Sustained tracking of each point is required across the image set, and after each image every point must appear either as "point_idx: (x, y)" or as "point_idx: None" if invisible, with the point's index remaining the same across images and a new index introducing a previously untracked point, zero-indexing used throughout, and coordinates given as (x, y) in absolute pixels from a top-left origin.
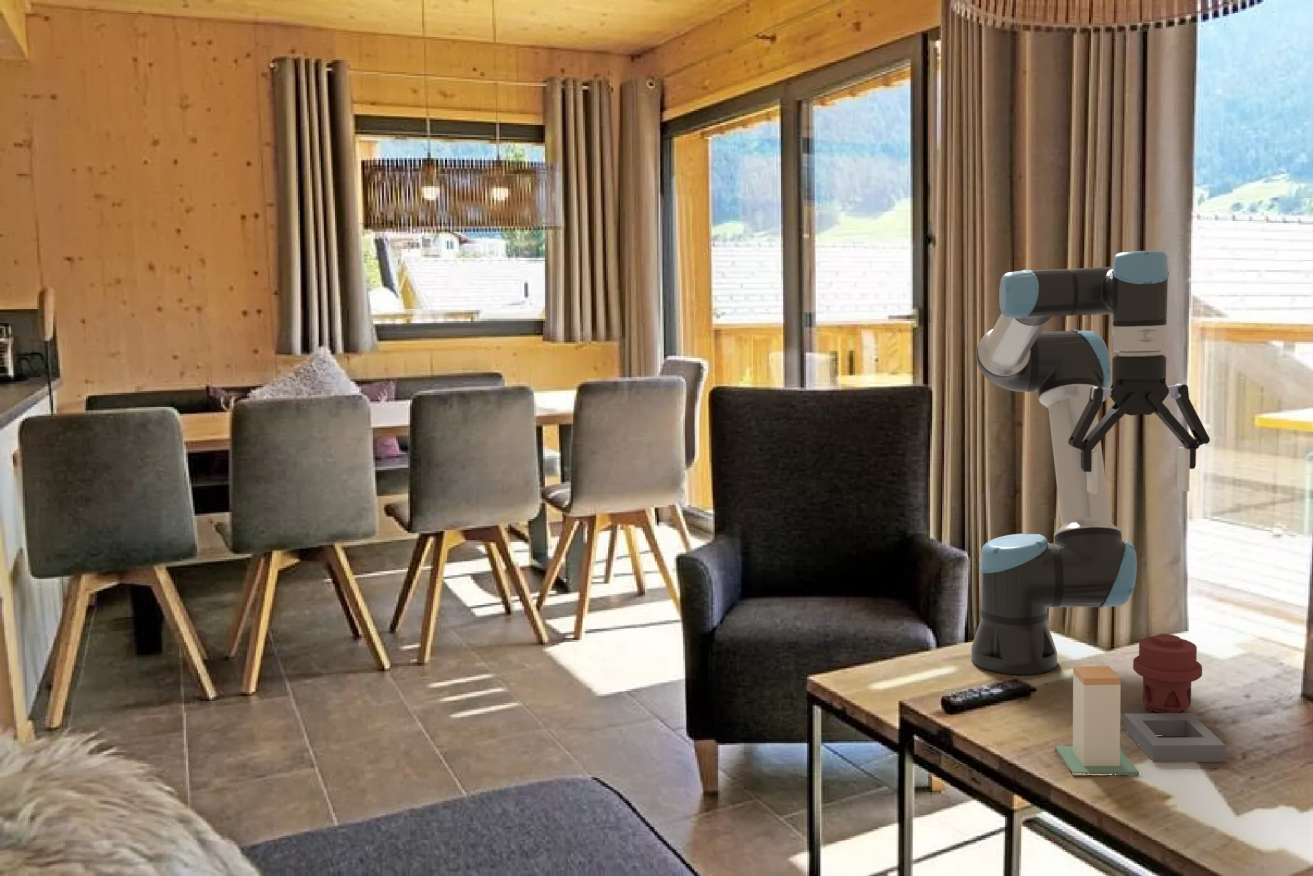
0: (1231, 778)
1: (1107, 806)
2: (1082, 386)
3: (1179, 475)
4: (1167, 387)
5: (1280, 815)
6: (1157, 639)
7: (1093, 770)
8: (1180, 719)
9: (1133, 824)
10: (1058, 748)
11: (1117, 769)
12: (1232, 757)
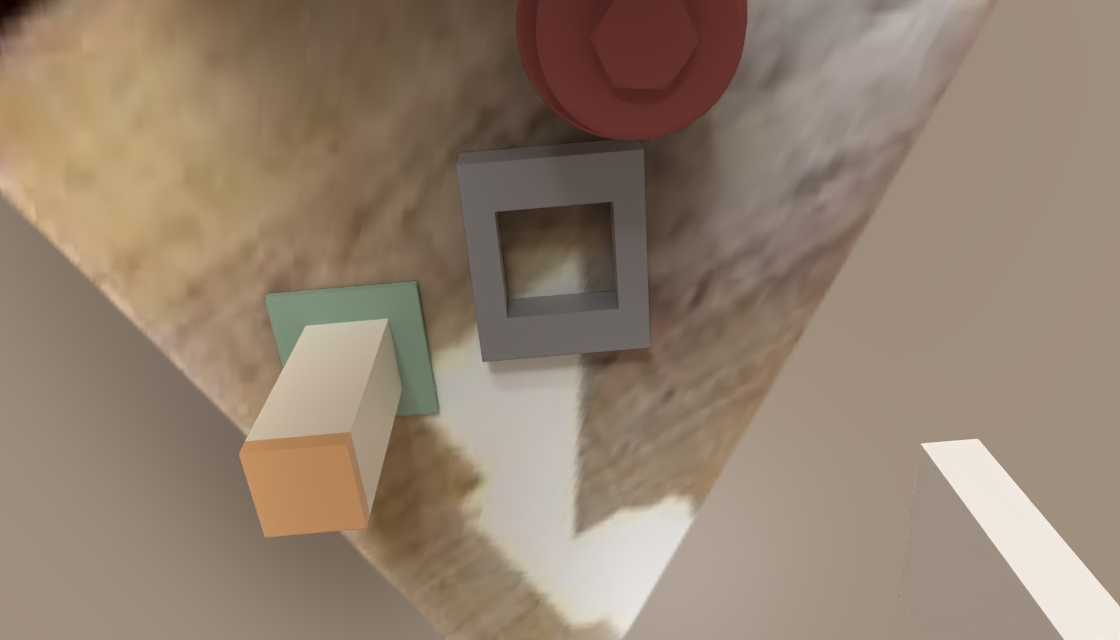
0: (625, 402)
1: None
2: None
3: (993, 621)
4: None
5: (651, 529)
6: (600, 56)
7: None
8: (599, 197)
9: (389, 576)
10: (272, 311)
11: None
12: (671, 303)
